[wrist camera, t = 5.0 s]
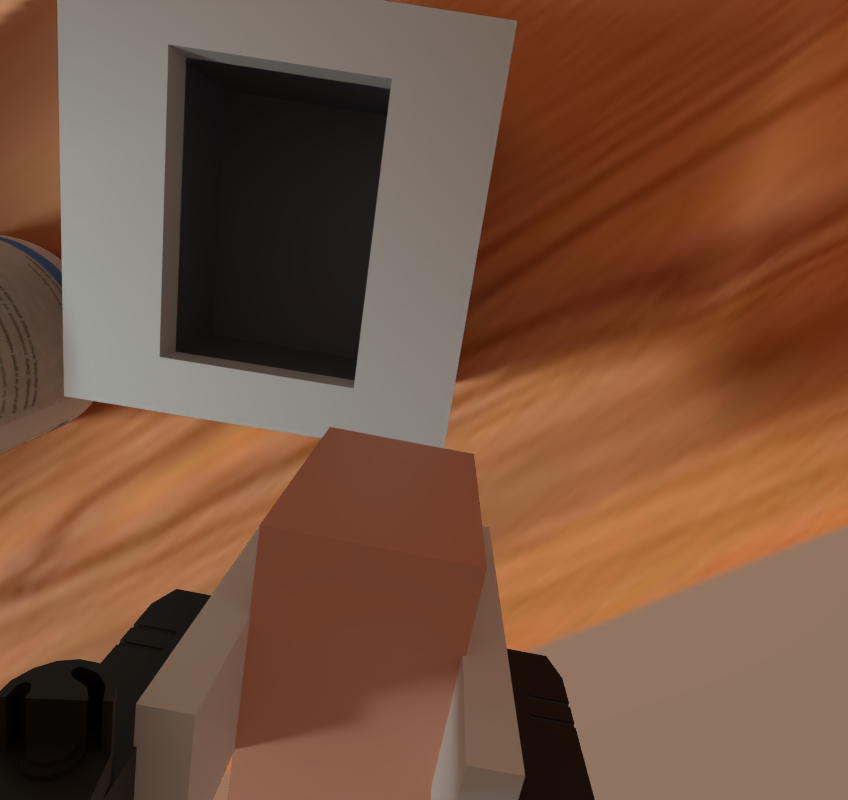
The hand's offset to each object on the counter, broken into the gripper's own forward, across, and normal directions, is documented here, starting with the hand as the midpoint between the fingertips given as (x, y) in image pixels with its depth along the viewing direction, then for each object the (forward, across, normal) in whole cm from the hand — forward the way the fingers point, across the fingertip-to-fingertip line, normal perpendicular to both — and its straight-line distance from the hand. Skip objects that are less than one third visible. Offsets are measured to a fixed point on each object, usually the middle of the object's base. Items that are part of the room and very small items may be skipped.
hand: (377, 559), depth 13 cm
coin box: (+14, -5, +7) cm, 17 cm away
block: (0, 0, 0) cm, 0 cm away
